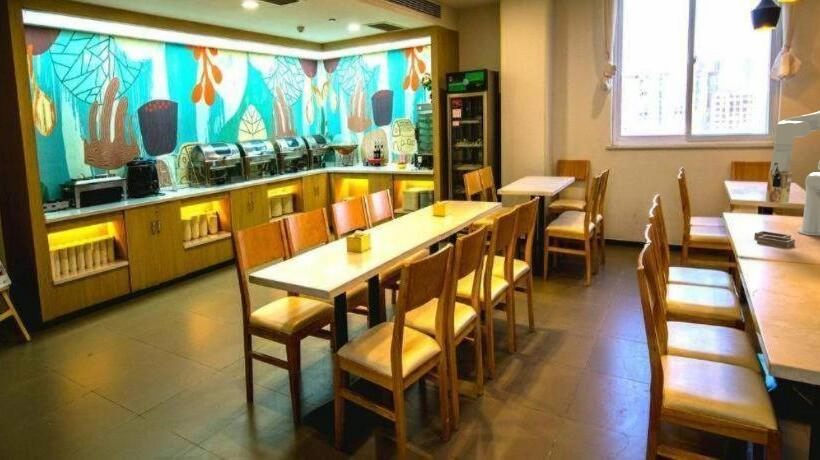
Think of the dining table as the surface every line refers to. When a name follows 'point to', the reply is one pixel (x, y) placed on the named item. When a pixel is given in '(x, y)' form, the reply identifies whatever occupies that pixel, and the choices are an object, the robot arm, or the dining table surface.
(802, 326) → the dining table surface
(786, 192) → the candy box
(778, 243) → the holder
